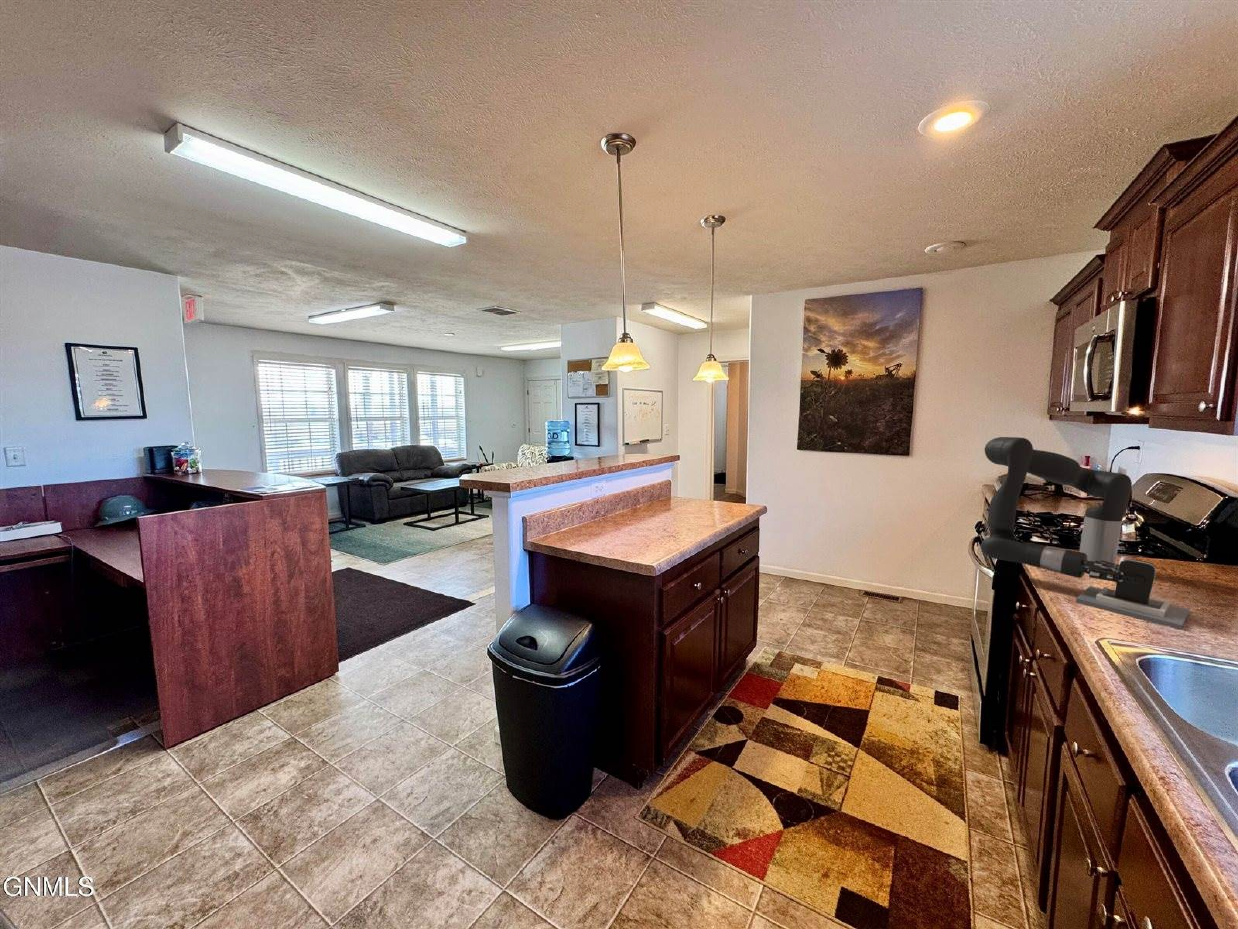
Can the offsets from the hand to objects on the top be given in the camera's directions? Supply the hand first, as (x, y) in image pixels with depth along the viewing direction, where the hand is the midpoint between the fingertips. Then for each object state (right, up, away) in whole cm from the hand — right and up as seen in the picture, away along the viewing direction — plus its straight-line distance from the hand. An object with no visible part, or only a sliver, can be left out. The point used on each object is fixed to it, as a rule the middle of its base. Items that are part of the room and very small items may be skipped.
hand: (1145, 579), depth 134 cm
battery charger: (-1, -6, +3) cm, 7 cm away
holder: (-1, -9, +3) cm, 9 cm away
